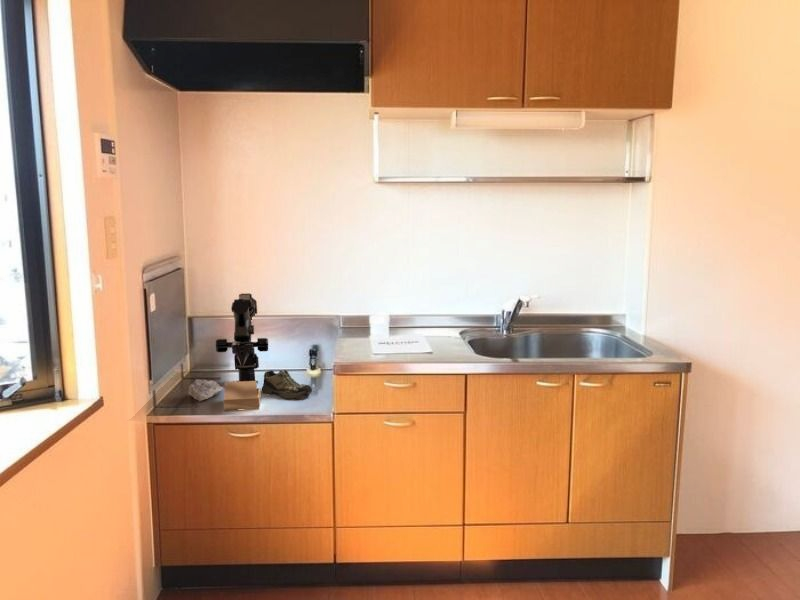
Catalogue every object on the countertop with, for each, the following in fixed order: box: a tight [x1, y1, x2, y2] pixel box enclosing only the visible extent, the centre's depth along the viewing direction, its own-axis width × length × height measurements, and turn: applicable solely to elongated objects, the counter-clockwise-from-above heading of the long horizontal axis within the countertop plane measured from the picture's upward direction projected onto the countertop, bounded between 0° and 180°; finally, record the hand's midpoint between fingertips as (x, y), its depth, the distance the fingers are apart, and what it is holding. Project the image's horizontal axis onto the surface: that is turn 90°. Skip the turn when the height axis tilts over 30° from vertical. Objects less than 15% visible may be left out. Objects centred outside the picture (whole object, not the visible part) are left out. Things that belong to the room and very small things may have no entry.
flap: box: [224, 380, 258, 400], centre depth 235 cm, size 6×11×1 cm
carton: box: [223, 387, 262, 411], centre depth 242 cm, size 12×12×4 cm
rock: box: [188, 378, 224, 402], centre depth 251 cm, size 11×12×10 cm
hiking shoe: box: [261, 369, 313, 400], centre depth 252 cm, size 8×21×9 cm, turn 66°
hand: (242, 365), depth 244 cm, fingers closed
